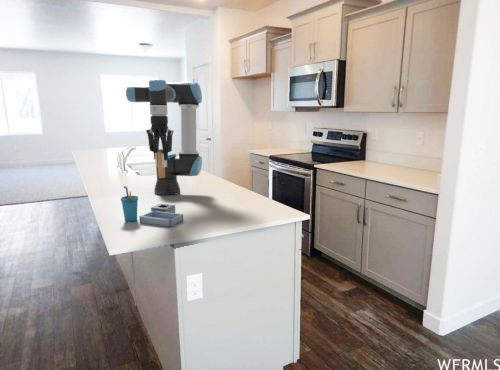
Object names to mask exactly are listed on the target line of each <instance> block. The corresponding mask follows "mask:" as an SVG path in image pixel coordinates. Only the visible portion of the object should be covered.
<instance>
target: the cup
mask: <svg viewBox="0 0 500 370" xmlns="http://www.w3.org/2000/svg"><path fill="white" fill-rule="evenodd" d="M122 187H123V188H124V189H125V192H126V193H125V195H124V196H122V197H120V201H121V205H122V211H123V217H124V222H125V221H126V223H133V222H137V220H138V200H139V196H138V195H132V192H131V191H129V190H128V186H127V185H125V186H124V185H123V186H122Z"/></svg>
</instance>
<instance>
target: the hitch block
mask: <svg viewBox="0 0 500 370" xmlns="http://www.w3.org/2000/svg"><path fill="white" fill-rule="evenodd" d="M151 211H161V212H169V213H176V204H167V203H159V204H157V205H154V206H151V207H150V212H151Z"/></svg>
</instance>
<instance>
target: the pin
mask: <svg viewBox="0 0 500 370" xmlns="http://www.w3.org/2000/svg"><path fill="white" fill-rule="evenodd" d="M162 152H163V148H161V149H160V148H159V150H157V154H158V174H159V178H165V167H164V168H163V167H162Z"/></svg>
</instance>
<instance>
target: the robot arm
mask: <svg viewBox="0 0 500 370" xmlns="http://www.w3.org/2000/svg"><path fill="white" fill-rule="evenodd" d="M125 96H126V100H127V101H128V102H129V103H149V105H150V106H149V111H150V124H151V127H150V128H149V129H147V130H146V134H147V140H148V147H149V151H150V152H153V159H154V160H155V161H154V162H155V168H156V183H155V185H154V192H153V193H154V194H155V195H159V196H172V195H173V196H174V195H178V194H180V193H181V188H180V184H179V181H178V178H177V177H178V176H179V177H181V176H182V177H197V176H199V175H200V173H201V171H202V165H203V158H202V156H200V153H199V151H197V109H198V108H199V106H200V105H199V104H201V103H202V101H203V94H202V89H201V86H200V85H199V83H198V82H196V81H171V82H167V81H166V80H164V79H150V80H149V81H148V85H130V86H127V88H126V91H125ZM168 103H176V104H178V107H179V108H180V118H181V119H180V121H181V122H180V123H181V124H180V125H181V126H180V128H181V130H180V131H181V138H180V139H181V141H180V142H181V150H180V151H179V152H178V155H177V154H176V153H170V152H172V148H173V135H174V130H172V129H169V127H168V123H169V117H168V116H167V115H168ZM160 140H161V141H160ZM160 142H161V147H162V148H161V149H163V152H162V167H163V168H164V167H165V178H159V174H158V154H157V150H159V149H160V148H159V147H160Z"/></svg>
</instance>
